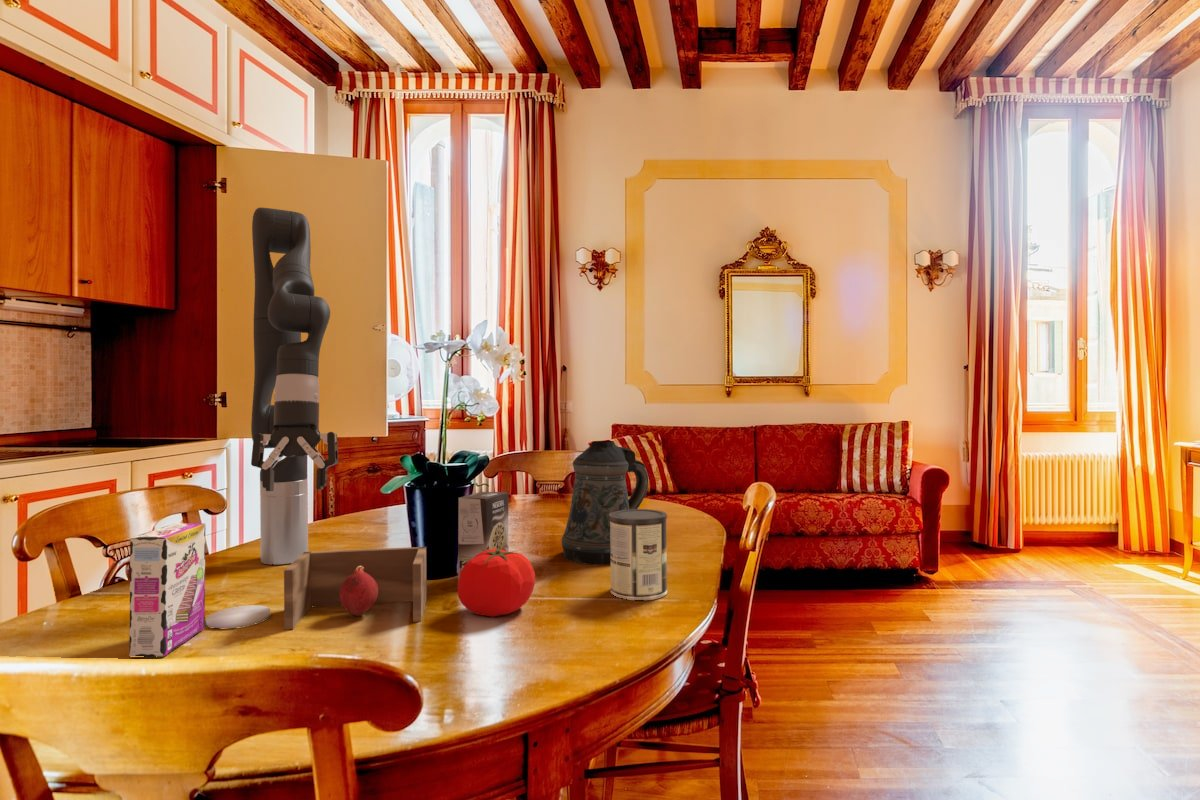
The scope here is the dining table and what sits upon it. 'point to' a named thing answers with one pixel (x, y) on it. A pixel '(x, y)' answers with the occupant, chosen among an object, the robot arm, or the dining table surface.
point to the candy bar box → (166, 588)
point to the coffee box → (481, 524)
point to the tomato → (496, 582)
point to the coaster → (238, 616)
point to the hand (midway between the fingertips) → (294, 490)
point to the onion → (358, 592)
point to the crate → (325, 572)
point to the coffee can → (638, 554)
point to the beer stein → (600, 499)
